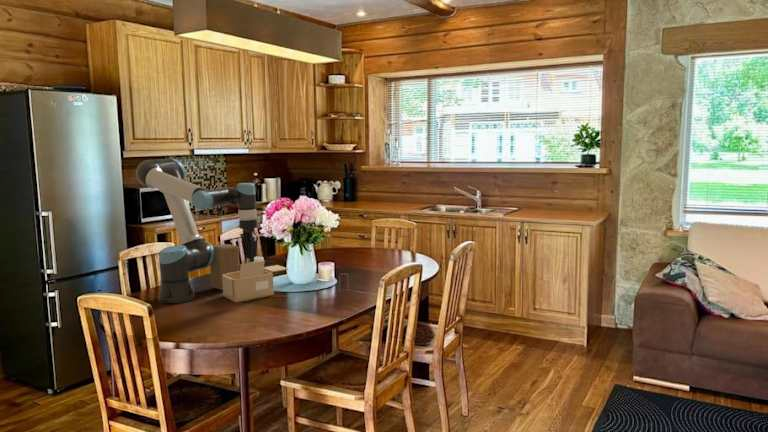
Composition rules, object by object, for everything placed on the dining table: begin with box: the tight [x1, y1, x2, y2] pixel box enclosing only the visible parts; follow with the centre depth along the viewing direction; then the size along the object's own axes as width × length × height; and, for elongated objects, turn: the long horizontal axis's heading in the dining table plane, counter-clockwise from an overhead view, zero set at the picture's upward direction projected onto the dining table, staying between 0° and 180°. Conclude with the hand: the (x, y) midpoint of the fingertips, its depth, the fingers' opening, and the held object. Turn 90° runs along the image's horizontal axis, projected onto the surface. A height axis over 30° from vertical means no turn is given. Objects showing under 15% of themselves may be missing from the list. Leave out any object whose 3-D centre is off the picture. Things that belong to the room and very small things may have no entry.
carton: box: [222, 269, 275, 303], centre depth 261 cm, size 19×15×10 cm
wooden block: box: [210, 243, 240, 291], centre depth 275 cm, size 10×10×20 cm
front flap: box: [239, 260, 266, 278], centre depth 252 cm, size 11×7×1 cm
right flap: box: [264, 264, 289, 273], centre depth 268 cm, size 8×10×1 cm
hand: (251, 272), depth 254 cm, fingers closed
